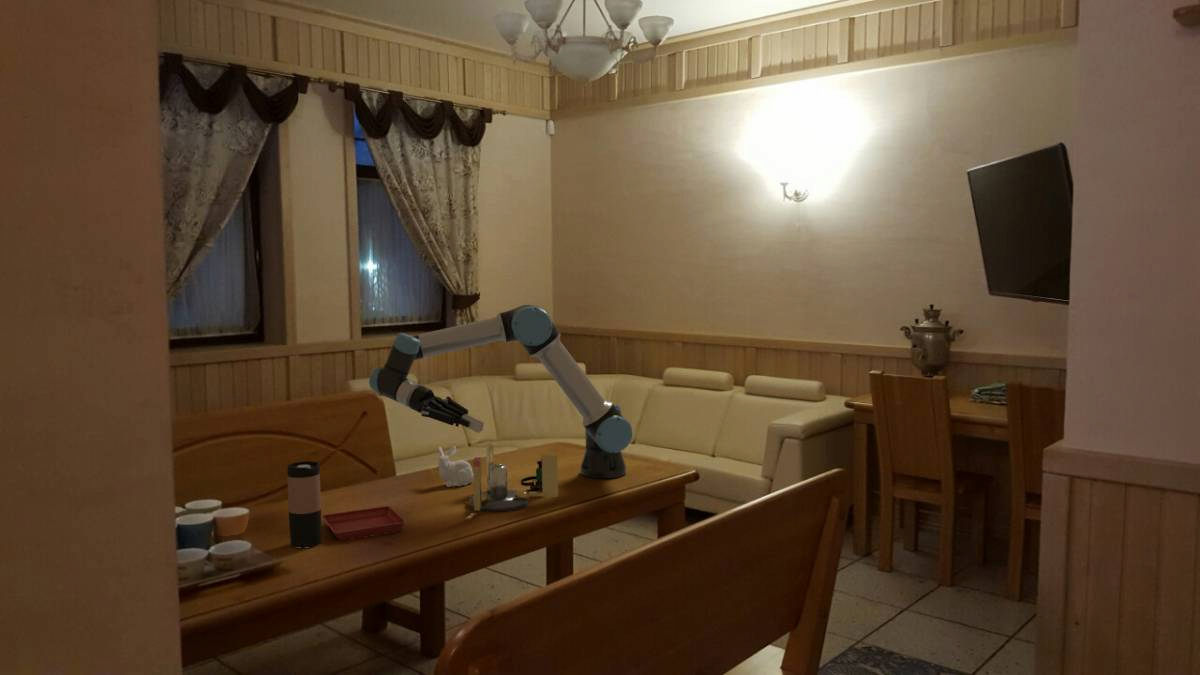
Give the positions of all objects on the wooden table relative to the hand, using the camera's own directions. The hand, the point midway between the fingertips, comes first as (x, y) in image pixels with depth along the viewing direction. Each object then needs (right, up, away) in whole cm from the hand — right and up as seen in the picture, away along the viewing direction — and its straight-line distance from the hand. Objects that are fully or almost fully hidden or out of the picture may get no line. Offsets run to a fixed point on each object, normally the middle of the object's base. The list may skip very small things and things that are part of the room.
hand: (481, 427), depth 250 cm
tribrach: (+8, -22, +1) cm, 24 cm away
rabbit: (-12, -21, +27) cm, 36 cm away
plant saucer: (-28, -25, -21) cm, 43 cm away
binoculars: (+15, -22, +16) cm, 30 cm away
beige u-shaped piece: (0, -21, -6) cm, 22 cm away
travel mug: (-39, -26, -33) cm, 57 cm away
